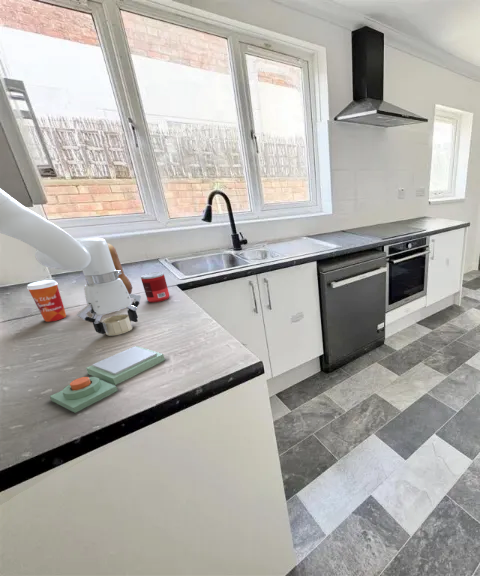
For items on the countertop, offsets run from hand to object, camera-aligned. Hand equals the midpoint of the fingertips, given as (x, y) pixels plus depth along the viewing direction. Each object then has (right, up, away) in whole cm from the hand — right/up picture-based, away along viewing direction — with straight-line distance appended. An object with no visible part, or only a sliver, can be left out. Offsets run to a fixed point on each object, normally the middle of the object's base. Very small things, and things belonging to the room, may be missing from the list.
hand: (118, 327), depth 103 cm
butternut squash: (-22, +6, +24) cm, 33 cm away
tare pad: (+19, -12, -31) cm, 39 cm away
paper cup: (-32, +2, +11) cm, 34 cm away
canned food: (-7, +8, +28) cm, 30 cm away
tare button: (+19, -10, -32) cm, 39 cm away
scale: (+20, -8, -20) cm, 30 cm away
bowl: (0, -1, 0) cm, 1 cm away
